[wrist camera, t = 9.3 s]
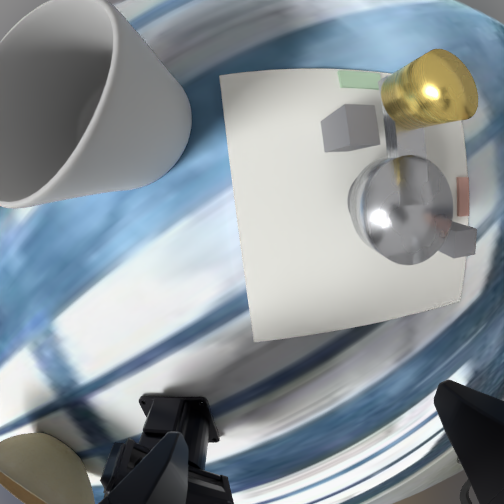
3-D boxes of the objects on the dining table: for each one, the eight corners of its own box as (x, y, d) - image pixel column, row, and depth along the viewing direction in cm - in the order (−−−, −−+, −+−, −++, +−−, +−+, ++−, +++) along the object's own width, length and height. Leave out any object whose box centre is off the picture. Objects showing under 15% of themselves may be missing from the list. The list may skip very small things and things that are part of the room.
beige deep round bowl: (86, 485, 30) (69, 531, 18) (7, 423, 26) (-22, 465, 14) (133, 475, 27) (114, 541, 15) (27, 393, 23) (-17, 452, 11)
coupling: (429, 249, 15) (494, 283, 9) (350, 257, 15) (403, 304, 9) (421, 91, 13) (487, 67, 7) (338, 80, 13) (386, 33, 7)
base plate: (455, 297, 20) (491, 324, 15) (253, 336, 20) (255, 384, 15) (449, 87, 15) (491, 74, 10) (220, 79, 16) (210, 44, 10)
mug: (191, 60, 15) (138, -40, 5) (196, 181, 17) (123, 191, 7) (49, 100, 15) (-52, 76, 5) (51, 203, 17) (-59, 233, 7)
